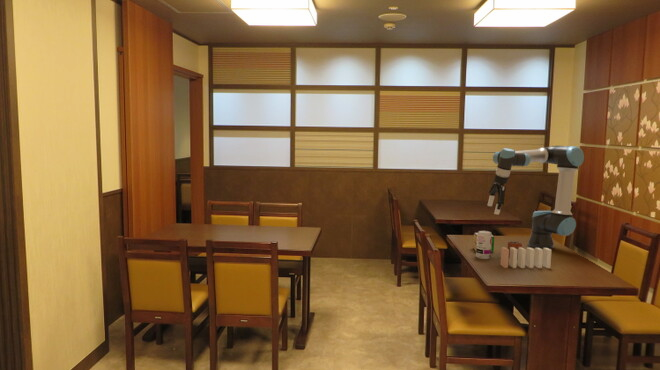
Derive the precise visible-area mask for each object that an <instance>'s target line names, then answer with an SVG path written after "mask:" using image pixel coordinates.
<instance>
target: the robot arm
mask: <svg viewBox="0 0 660 370" xmlns="http://www.w3.org/2000/svg"><path fill="white" fill-rule="evenodd" d="M584 160H585V155H584V151H583V150H582V149H581V148H580V147H579V146H574V145H552V146H551V145H550V146H544V147H543V146H542V147H539V148H537V149H527V150H524V149H523V150H514V149H513V148H508V147H504V148H501V150H500V151H496V152H494V153H493V155H492V161H493V163H495V164H496V165H497V166H496V169H495V175H494V177H493V182H492V185H491V187H490V188H489V191H488V193H489V197H488V202H487V206H488V207H493V204H494V200H495V196H496V194H497V202H496V205H495V209H494V213H493V214H494V215H500V213H501V208H502V207H503V206H502V205H504V204H505V198H506V195H505V194H506V189H507V188H506V186H504V185H507V184H508V181H509V177H510V174H511V170H512V167H526V166H529V165H530V163H536V162H537V163H538V162H539V164H540V163H541V164H553V165H556V168H557V169H558V178H557V179H558V180H557V185H556V187H557V188H556V193H555V194H556V195H555V202H554V203H555V204H554V209H553V210H537V211H536V210H534V212H533V213H532V222H531V233H530V236H529V238H528V241H527V245H528V246H529V248H533V249H535V248H540V249H542V250H543V248H548V249H551V250H553V248H554V245H555V243H554V241H553V237H552V234H556V235H559V236H563V237H567V236H570V235H572V233H574V231H575V229H576V227H577V221H576V219H575V218H574V217H573V213H572V211H571V207H572V200H573V199H572V197H573V191H574V182H575V173H576V171H578V170H579V167H580V166H582V164H583V163H584Z"/></svg>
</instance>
